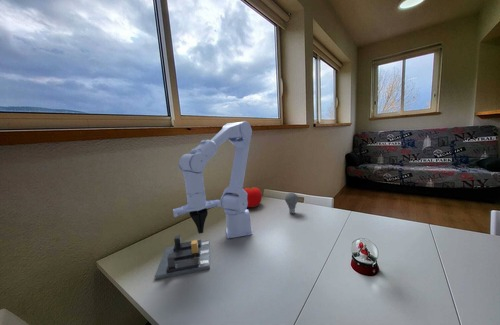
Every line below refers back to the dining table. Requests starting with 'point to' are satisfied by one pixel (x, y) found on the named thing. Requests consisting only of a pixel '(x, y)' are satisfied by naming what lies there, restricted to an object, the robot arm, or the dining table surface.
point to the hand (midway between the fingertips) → (200, 231)
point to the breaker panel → (183, 259)
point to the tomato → (253, 196)
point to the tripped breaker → (194, 246)
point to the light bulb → (291, 201)
